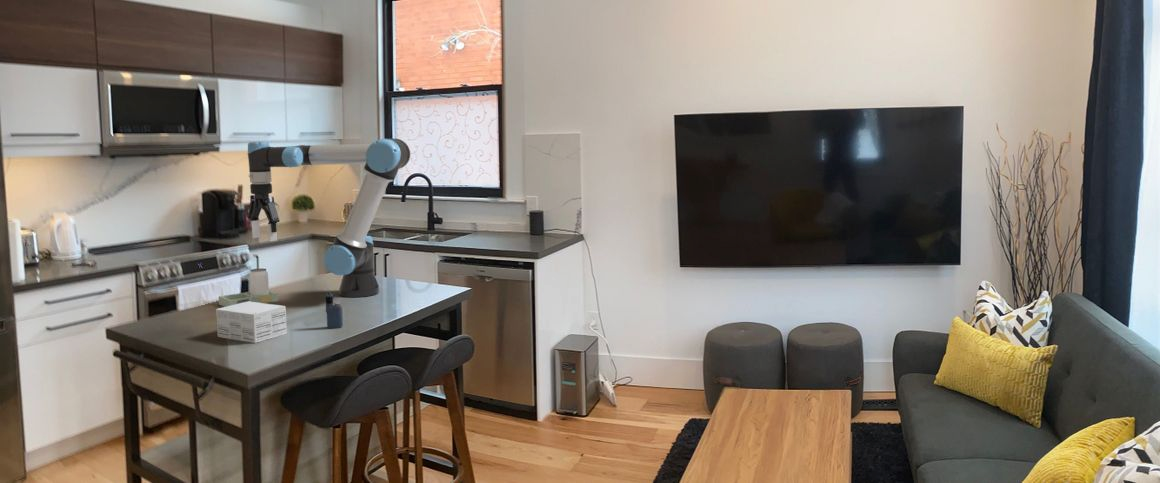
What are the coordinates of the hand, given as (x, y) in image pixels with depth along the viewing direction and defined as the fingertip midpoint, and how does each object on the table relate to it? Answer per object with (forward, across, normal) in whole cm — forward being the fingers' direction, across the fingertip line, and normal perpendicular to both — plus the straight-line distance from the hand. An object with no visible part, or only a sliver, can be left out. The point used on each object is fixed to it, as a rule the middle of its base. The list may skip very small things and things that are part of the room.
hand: (264, 239), depth 306 cm
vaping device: (+24, +56, -6) cm, 61 cm away
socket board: (+23, +1, -8) cm, 24 cm away
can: (+23, +1, -4) cm, 24 cm away
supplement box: (+24, +46, -28) cm, 59 cm away
